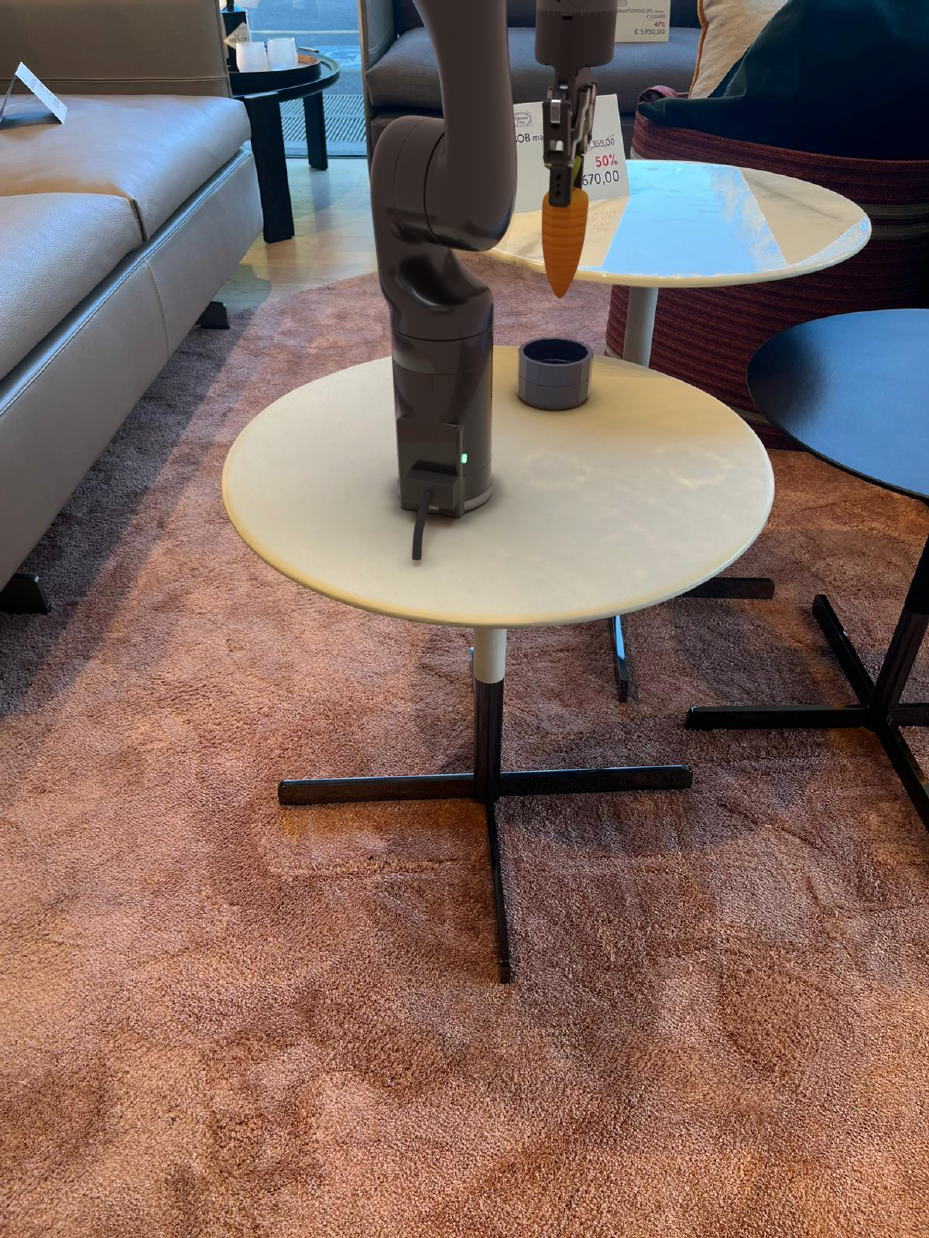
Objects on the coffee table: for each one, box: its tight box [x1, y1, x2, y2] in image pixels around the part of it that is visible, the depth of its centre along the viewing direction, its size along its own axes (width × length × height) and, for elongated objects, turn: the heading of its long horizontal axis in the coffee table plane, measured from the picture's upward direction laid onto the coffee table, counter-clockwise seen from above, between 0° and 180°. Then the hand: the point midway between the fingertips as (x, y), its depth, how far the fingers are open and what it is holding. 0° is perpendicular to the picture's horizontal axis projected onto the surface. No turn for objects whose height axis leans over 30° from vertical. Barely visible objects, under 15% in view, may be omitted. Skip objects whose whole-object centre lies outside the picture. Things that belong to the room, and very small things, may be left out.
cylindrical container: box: [516, 336, 594, 411], centre depth 108 cm, size 9×9×6 cm
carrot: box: [541, 156, 590, 300], centre depth 98 cm, size 5×5×15 cm
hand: (565, 199), depth 96 cm, fingers closed on carrot, 4 cm apart
